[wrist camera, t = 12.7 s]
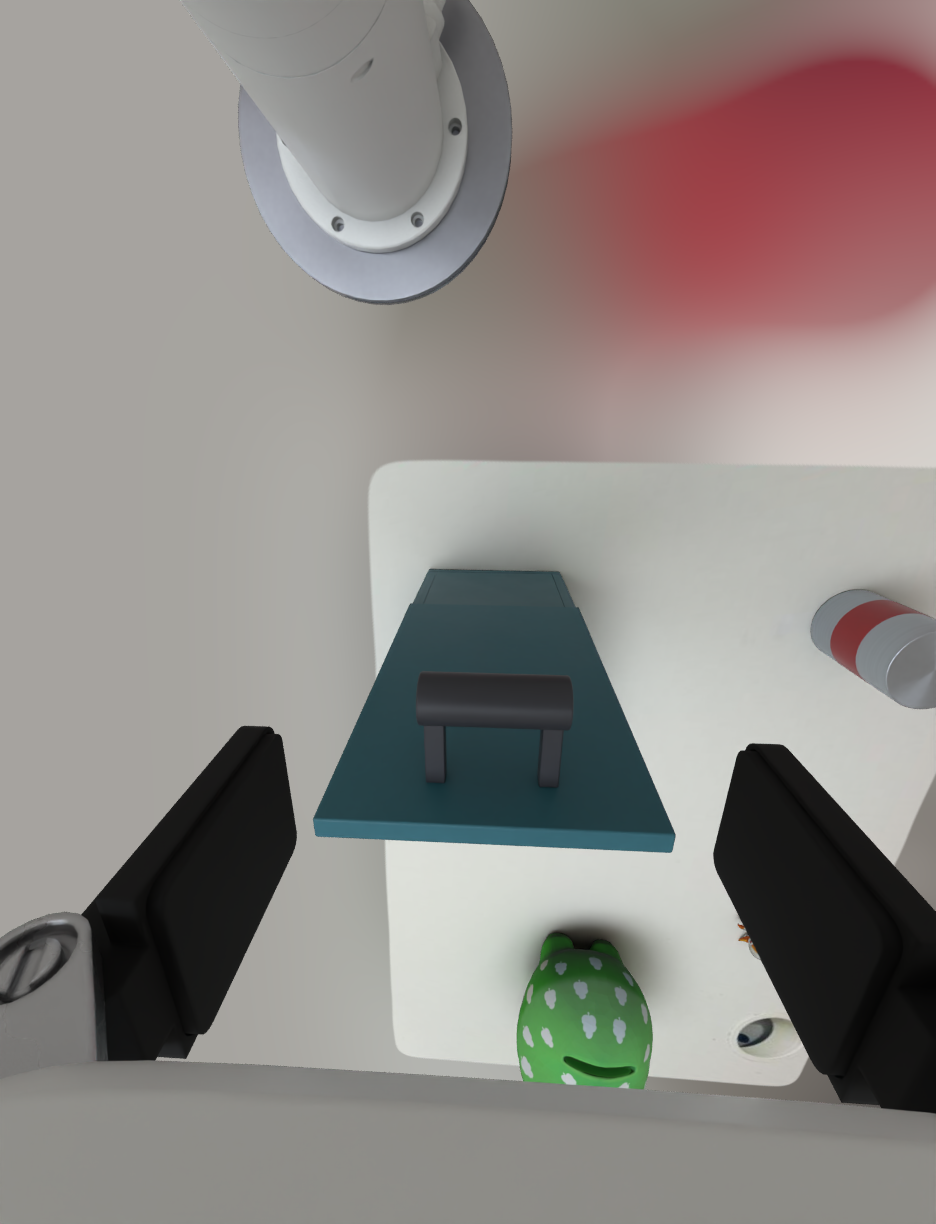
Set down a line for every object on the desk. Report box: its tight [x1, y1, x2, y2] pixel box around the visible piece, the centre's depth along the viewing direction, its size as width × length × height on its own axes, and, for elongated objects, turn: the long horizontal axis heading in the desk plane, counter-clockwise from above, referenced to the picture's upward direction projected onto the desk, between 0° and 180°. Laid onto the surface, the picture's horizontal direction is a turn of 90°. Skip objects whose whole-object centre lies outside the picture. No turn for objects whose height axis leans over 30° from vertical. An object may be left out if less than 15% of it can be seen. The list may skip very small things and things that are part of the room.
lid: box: [313, 604, 676, 853], centre depth 24 cm, size 19×12×5 cm
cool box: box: [413, 569, 575, 607], centre depth 42 cm, size 19×12×10 cm, turn 0°
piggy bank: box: [517, 933, 653, 1090], centre depth 53 cm, size 14×18×15 cm
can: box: [811, 590, 936, 709], centre depth 39 cm, size 6×6×9 cm
